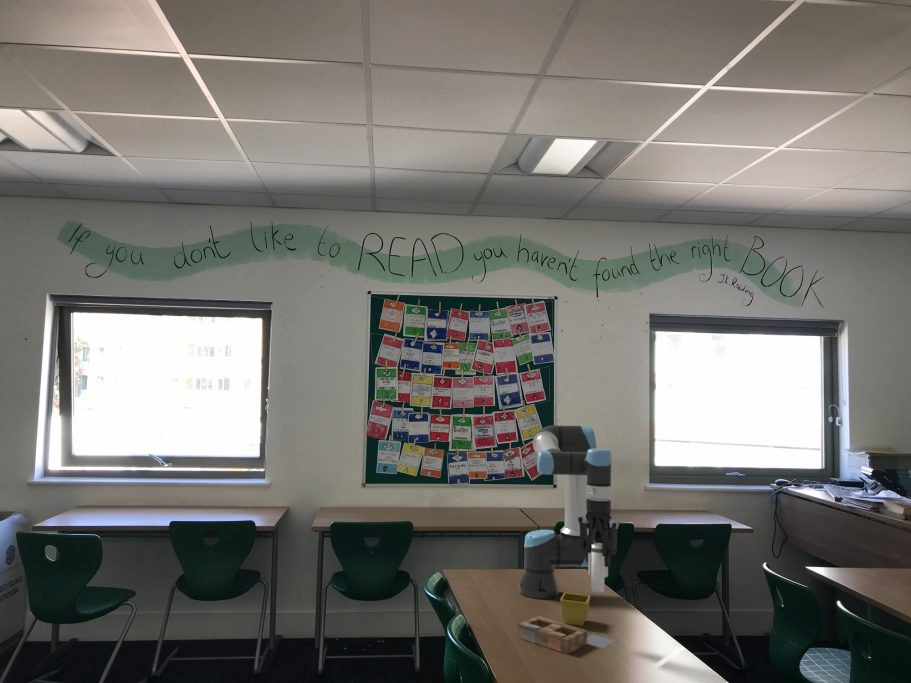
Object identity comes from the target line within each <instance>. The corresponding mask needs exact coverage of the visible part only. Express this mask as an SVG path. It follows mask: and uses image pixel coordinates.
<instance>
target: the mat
mask: <svg viewBox="0 0 911 683" xmlns="http://www.w3.org/2000/svg"><path fill="white" fill-rule="evenodd" d="M615 642H616V640H613V639H609V638H606V637H603V636H599V635H596V634H591V635H589V636H588V635H587V645H591V646H594V647H598V648H600V649H604V648H606V647H608V646H610V645H611V644H613V643H615Z"/></svg>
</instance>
